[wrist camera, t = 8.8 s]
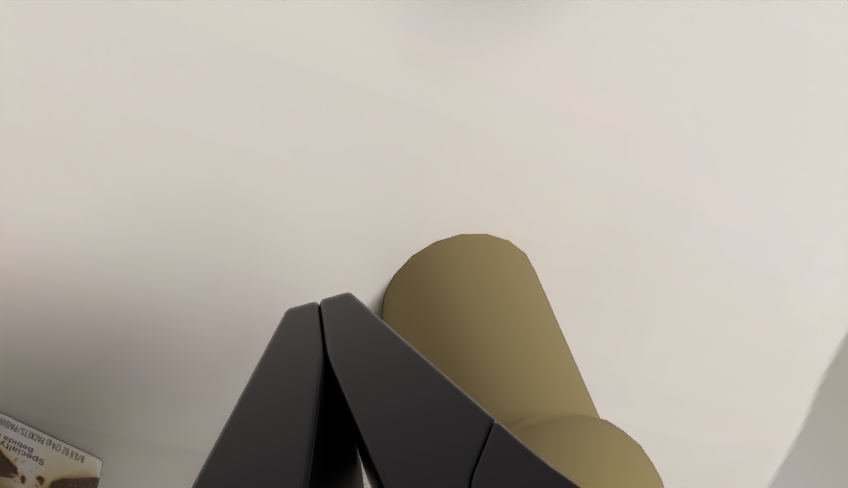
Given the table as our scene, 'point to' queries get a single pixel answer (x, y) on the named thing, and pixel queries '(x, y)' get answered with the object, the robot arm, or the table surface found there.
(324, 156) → the table surface
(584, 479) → the olive tapered upright piece
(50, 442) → the coffee box
